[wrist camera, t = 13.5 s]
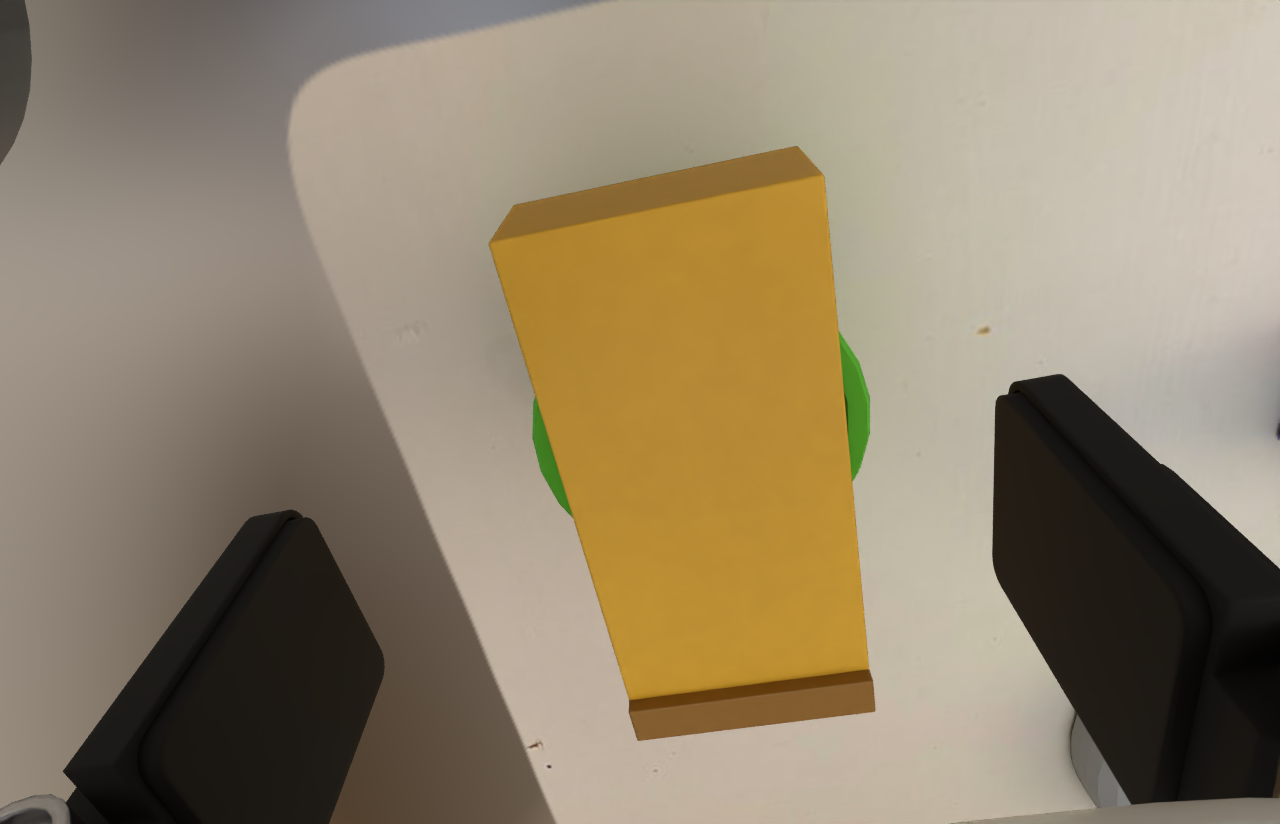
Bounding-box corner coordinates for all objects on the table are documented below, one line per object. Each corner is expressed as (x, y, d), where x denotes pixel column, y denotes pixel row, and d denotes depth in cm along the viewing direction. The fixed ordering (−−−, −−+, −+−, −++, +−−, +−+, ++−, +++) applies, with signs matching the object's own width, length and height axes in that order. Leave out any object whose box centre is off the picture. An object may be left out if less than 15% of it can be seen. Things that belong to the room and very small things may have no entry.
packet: (512, 204, 18) (483, 248, 15) (798, 144, 17) (829, 178, 14) (640, 649, 24) (637, 741, 21) (848, 620, 23) (876, 712, 20)
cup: (820, 368, 32) (891, 536, 22) (608, 418, 33) (588, 596, 23) (780, 148, 27) (847, 235, 18) (539, 214, 29) (480, 329, 19)
